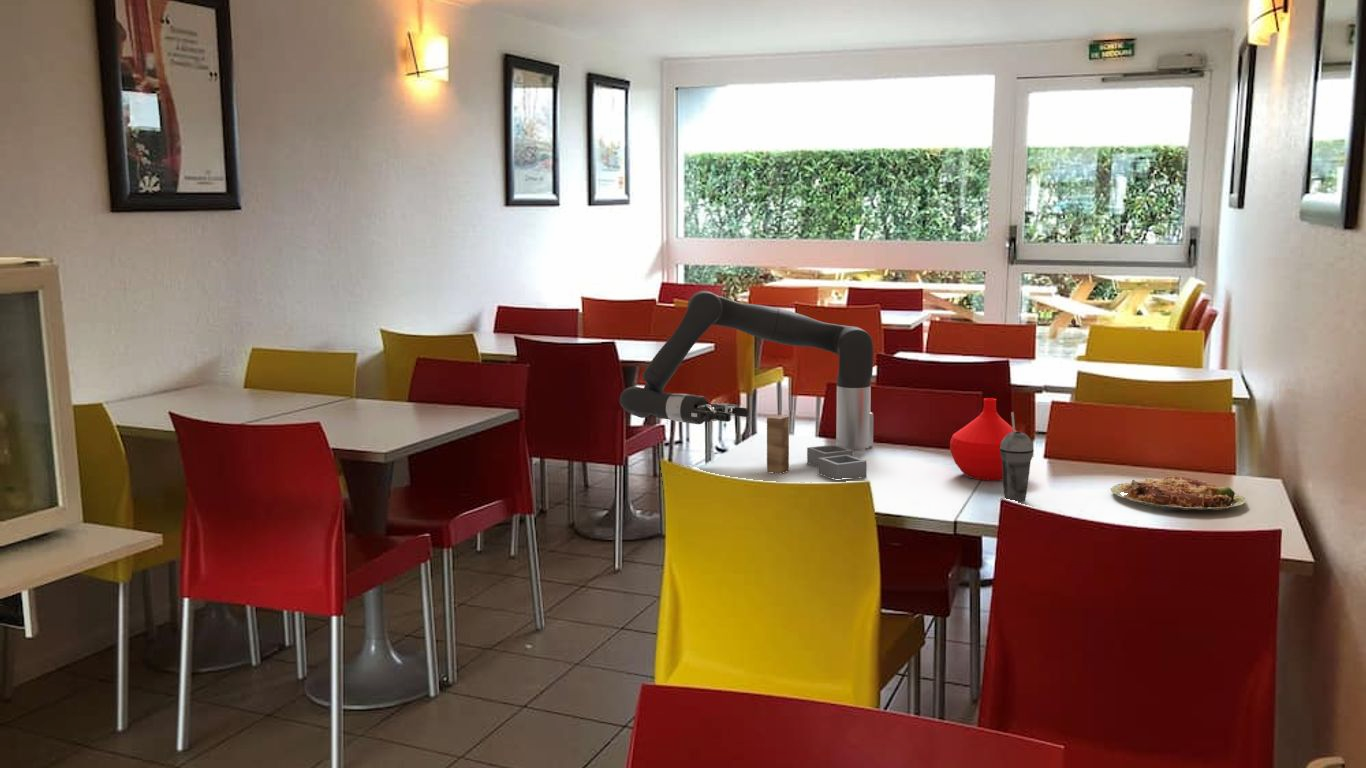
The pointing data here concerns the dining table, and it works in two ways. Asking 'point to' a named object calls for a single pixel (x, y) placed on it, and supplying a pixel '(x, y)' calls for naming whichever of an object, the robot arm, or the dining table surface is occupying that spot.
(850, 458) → the end cap near
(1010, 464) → the beverage cup
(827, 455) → the end cap far
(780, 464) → the brown wooden tall block
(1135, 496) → the rice dish
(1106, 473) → the dining table surface
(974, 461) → the vase
